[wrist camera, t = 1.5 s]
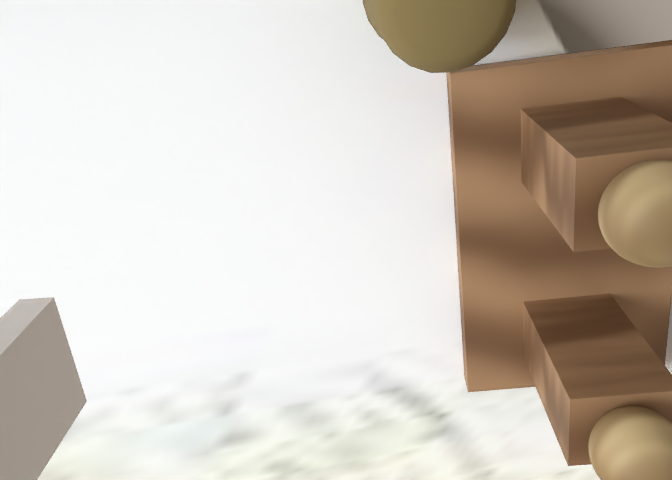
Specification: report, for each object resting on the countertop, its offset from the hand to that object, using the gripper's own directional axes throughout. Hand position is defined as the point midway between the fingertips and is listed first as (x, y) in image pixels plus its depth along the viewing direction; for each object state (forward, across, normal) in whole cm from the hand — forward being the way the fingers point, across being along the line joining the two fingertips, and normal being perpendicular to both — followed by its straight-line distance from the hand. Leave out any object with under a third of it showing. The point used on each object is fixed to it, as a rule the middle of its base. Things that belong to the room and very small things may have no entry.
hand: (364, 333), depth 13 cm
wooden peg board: (+23, +11, -8) cm, 26 cm away
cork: (+23, +3, +6) cm, 24 cm away
